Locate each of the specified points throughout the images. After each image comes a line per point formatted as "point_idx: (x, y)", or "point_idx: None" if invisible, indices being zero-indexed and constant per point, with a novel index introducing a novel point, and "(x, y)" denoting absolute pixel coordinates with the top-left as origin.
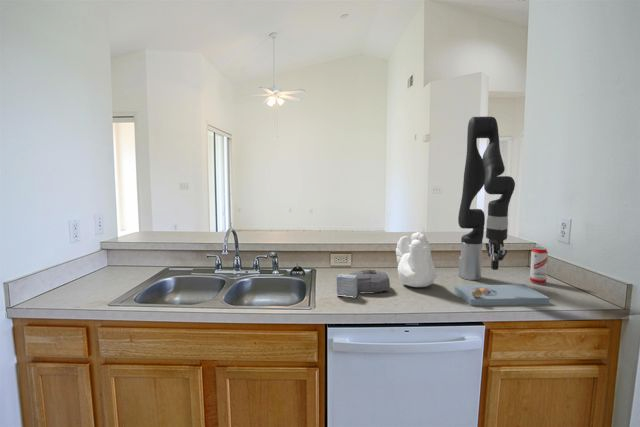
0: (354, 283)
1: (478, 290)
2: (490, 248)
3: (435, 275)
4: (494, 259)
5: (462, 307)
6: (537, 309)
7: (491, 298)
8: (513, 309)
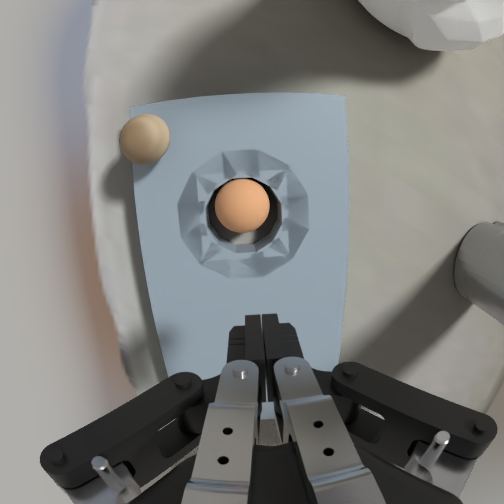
0: None
1: (123, 141)
2: (313, 459)
3: (402, 19)
4: (222, 377)
5: (122, 75)
6: (128, 354)
7: (141, 211)
8: (111, 276)
